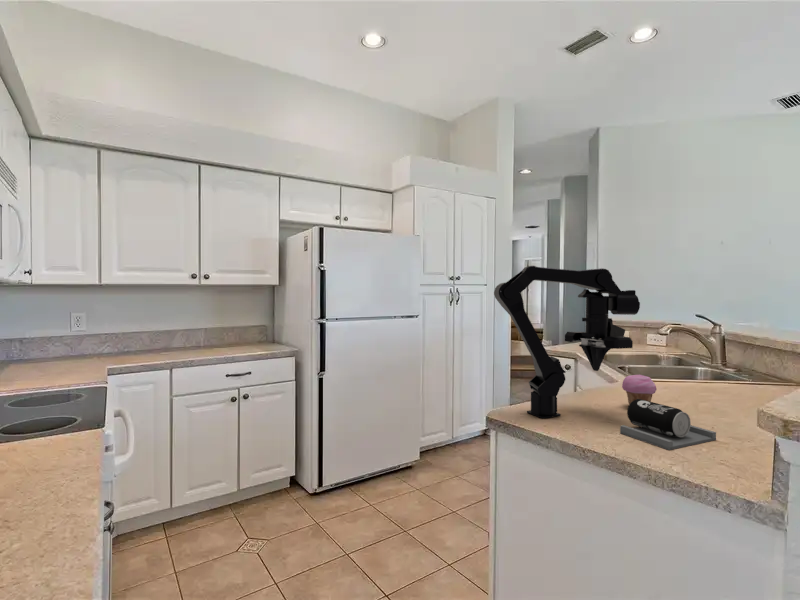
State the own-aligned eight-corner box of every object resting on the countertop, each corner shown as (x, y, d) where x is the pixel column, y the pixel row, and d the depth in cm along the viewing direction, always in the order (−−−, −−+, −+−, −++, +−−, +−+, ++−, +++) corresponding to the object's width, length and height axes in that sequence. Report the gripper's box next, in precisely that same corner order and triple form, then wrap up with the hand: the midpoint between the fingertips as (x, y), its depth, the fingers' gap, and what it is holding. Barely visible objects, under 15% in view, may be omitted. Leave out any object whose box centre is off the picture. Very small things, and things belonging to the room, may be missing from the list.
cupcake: (658, 414, 117) (658, 378, 117) (623, 410, 120) (623, 376, 120) (653, 406, 125) (653, 372, 125) (620, 403, 128) (620, 370, 128)
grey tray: (669, 450, 90) (669, 441, 90) (620, 433, 101) (620, 425, 101) (716, 439, 96) (716, 432, 96) (665, 425, 107) (665, 417, 107)
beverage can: (639, 393, 106) (687, 405, 95) (646, 416, 107) (694, 430, 96) (622, 406, 104) (669, 419, 93) (629, 429, 105) (676, 444, 94)
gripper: (648, 315, 110) (647, 375, 110) (593, 312, 127) (592, 364, 127) (616, 316, 106) (615, 377, 106) (563, 312, 123) (562, 365, 124)
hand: (595, 370), depth 116 cm, fingers closed
